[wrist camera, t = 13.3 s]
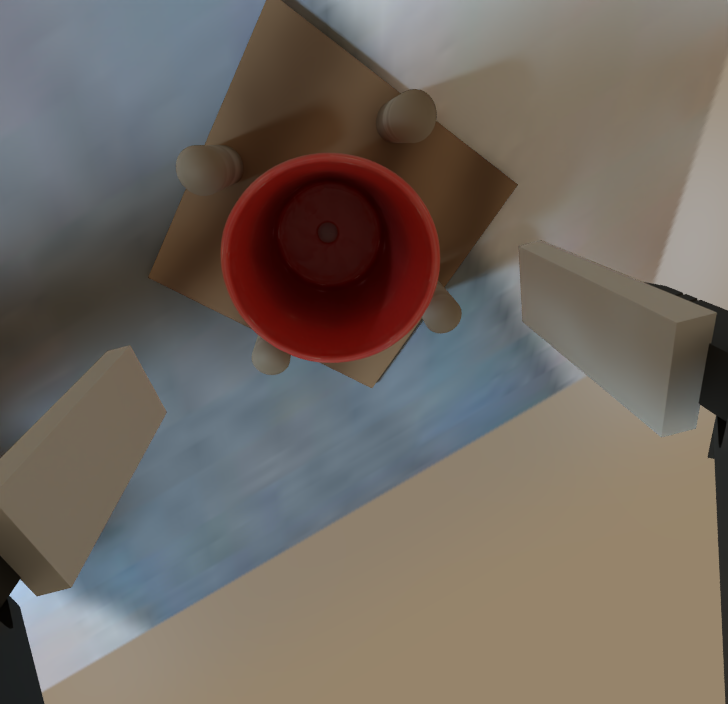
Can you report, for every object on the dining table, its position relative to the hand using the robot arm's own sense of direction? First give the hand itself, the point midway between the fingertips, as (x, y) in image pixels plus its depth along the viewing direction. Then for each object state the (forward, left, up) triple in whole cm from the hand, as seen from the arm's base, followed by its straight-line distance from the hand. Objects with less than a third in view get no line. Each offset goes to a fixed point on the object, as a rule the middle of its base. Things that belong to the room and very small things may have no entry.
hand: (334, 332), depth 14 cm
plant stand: (0, 0, -18) cm, 18 cm away
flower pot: (0, 0, -18) cm, 18 cm away
